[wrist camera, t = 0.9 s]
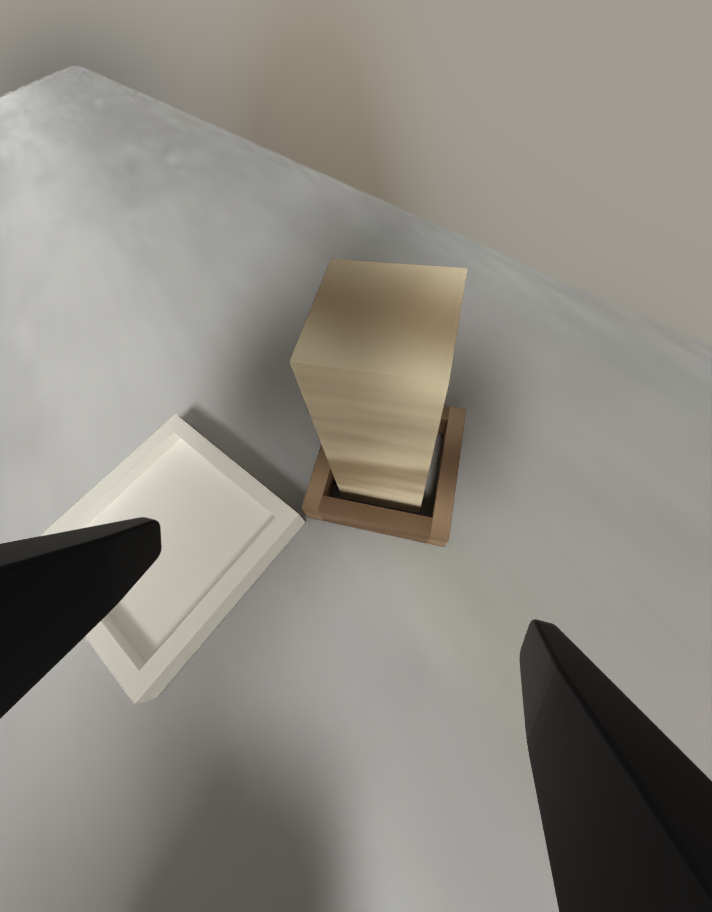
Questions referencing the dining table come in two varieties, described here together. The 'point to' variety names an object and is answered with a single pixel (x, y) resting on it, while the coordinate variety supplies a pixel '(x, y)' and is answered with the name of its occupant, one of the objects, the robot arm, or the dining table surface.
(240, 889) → the dining table surface
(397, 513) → the walnut collar
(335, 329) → the tan wooden block
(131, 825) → the dining table surface
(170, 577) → the tray
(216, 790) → the dining table surface
